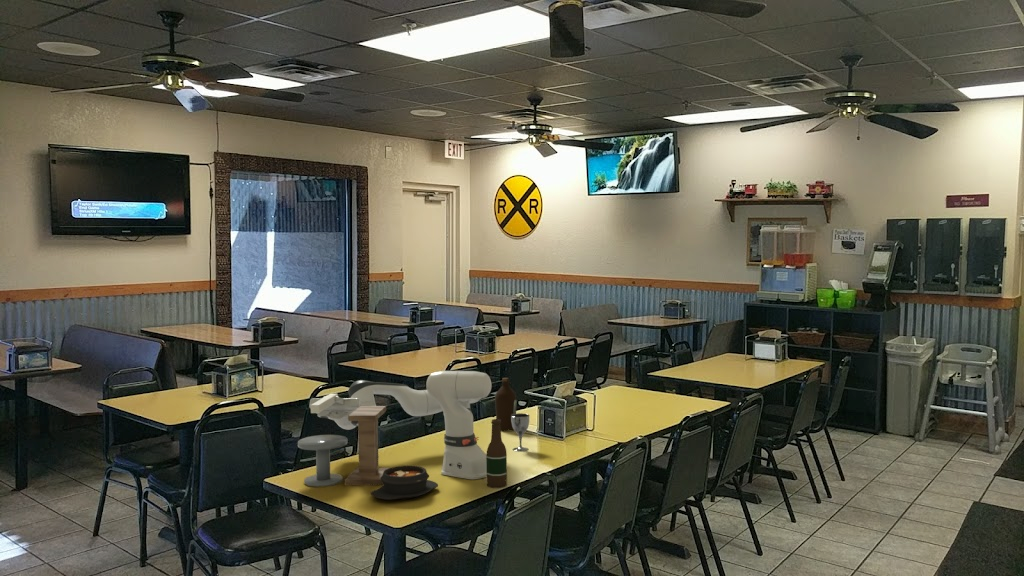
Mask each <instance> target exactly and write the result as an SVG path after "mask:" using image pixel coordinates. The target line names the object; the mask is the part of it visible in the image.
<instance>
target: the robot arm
mask: <svg viewBox="0 0 1024 576" xmlns="http://www.w3.org/2000/svg"><path fill="white" fill-rule="evenodd" d="M425 386H426V389H421V390H417V389H413V388H412V387H409V386H408V385H407V384H403V383H393V382H379V381H378V382H377V381H376V382H375V381H370V380H365V379H364V380H363V379H360V380H356V381H354V382H353V383H352V384H351V385H350V386H349V388H348V391H347V392H348V396H349V397H348V398H347V397H346V398H345V397H344V398H343V397H340V396H339V395H338V396H335V399H334V400H335V402H336V403H334V404H333V405H331V406H329V407H328V408H326V409H325V410H323V411H322V412H320V413H315V414H317V417H318V418H322V419H329V420H332V421H334V422H335V423H336V424H337V425H338V427H340V428H341V429H343V430H353V429H355V428H356V427H358V421H348V415H350V414H351V413H352V412H354V411H355V410H356V409H358V408H359V407H360V406H377V404H376V401H375V400H376V399H375V396H374V395H386V396H387V395H389V396H392V397H393V398H395V400H396V401H397V402H398V403H399V404H400V406H401V408H402V409H403V410H404V412H406V414H408V415H410V416H412V417H425V416H430V415H434V414H438V413H441V412H443V413H442V416H444V431H445V432H444V438H443V440H444V442H443V443H444V451H443V461H442V467H441V472H440V474H441V475H444V476H449V477H455V478H461V479H466V480H479V479H484V478H487V462H486V455H487V453H485V452H484V450H483V449H482V448H481V447H480V446H479V444H478V441H479V438H480V437H478V436H476V435H475V432H474V415H473V413H472V408H471V404H474V403H477V402H479V401H480V400H481V399H485V398H487V397H488V396H489V395H490V393H491V391H492V381H491V378H490V376H489V374H487V373H486V372H482V371H481V372H480V371H476V370H440V371H435V372H431V374H429V375H428V377H427V379H426V384H425ZM325 396H326V395H325ZM325 396H323V397H322V398H324V397H325ZM322 398H316V397H313V398H310V400H309V406H308V407H309V409H310V410H311V405H312V404H313V403H315V402H317V401H318V400H320V399H322Z"/></svg>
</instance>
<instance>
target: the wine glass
mask: <svg viewBox="0 0 1024 576" xmlns="http://www.w3.org/2000/svg"><path fill="white" fill-rule="evenodd" d="M511 422H512V427H513V429H514V430H513V431H515V433H516V434H517V435H518V440H519V446H518V447H513V448H512V451H514V452H518V453H519V452H528V451H529V449H530V448H528V447H523V446H522V441H523V435H524V434H525V433H526V431H527V430H528V428H529V427H530V426H529V425H530V414H529V413H522V412H521V413H516V414H512V415H511Z"/></svg>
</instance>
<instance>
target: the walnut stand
mask: <svg viewBox="0 0 1024 576" xmlns="http://www.w3.org/2000/svg"><path fill="white" fill-rule="evenodd" d="M386 412H387V406H386V405H376V406H360V407H359V408H358V409H356V410H355V411H354V412H352V413H351V414H350V415H348V421H358V426H357V433H358V434H357V435H358V436H357V437H358V440H357V441H358V467H355V468H354V470H352V471H351V473H349V475H348V476H347V477H346V478H345V479H344V486H383V482H382V481H381V479H380V478H381V476H382V475H383V472H384V471H385V470H386V469H389V468H390V467H380V466H379V430H378V429H379V427H378V426H379V418H380V417H381V416H383V415H384V414H385V413H386Z"/></svg>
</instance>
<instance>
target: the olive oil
mask: <svg viewBox="0 0 1024 576" xmlns="http://www.w3.org/2000/svg"><path fill="white" fill-rule="evenodd" d="M501 383H502V385H501V386H500V388H499V389H498V390H497V391H496V393H495V396H494V405H495V407H494V408H495V419H499V420H501V423H500V427H501V430H512V431H514V430H513V427H512V422H511V415H512V414H517V401H518V400H517V397H518V396H517V393H516V392H515V391H514V389H513V388H512V387H510V378H509V377H502V381H501Z"/></svg>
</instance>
